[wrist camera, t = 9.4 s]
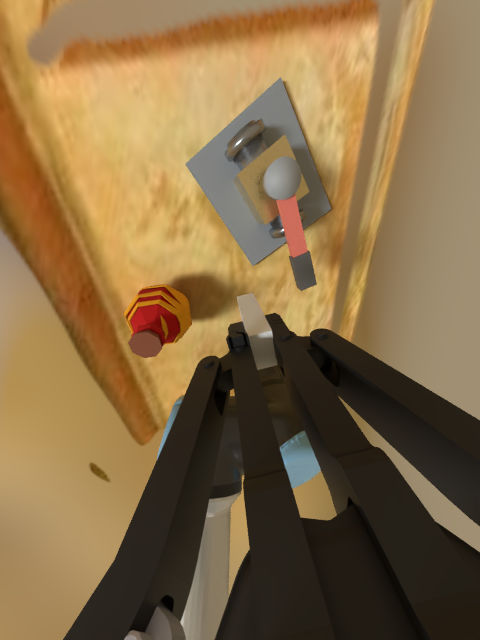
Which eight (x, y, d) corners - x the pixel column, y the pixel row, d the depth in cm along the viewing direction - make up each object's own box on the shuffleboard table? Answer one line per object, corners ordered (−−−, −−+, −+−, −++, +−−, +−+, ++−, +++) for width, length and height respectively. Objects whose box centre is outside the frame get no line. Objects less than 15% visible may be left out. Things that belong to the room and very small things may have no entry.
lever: (258, 169, 23) (261, 166, 22) (290, 154, 23) (296, 149, 21) (291, 288, 31) (296, 293, 29) (316, 278, 31) (322, 282, 29)
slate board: (328, 209, 35) (331, 209, 34) (252, 264, 38) (253, 265, 37) (278, 81, 27) (280, 77, 26) (186, 165, 30) (185, 163, 29)
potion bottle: (190, 327, 42) (180, 379, 29) (138, 317, 40) (101, 369, 27) (200, 281, 38) (193, 317, 25) (142, 267, 36) (101, 298, 22)
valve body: (301, 215, 34) (325, 216, 27) (267, 240, 36) (280, 247, 28) (258, 122, 28) (274, 91, 21) (218, 157, 29) (220, 139, 22)
